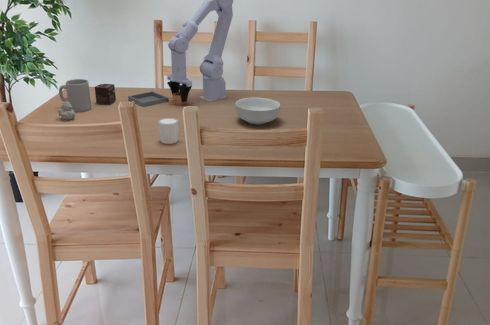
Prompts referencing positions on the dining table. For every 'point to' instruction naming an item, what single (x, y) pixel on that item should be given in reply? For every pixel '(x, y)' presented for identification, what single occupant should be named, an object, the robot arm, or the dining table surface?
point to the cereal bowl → (257, 110)
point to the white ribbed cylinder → (168, 130)
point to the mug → (77, 94)
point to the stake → (182, 104)
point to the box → (105, 94)
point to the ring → (176, 100)
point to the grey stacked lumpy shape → (66, 111)
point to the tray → (148, 99)
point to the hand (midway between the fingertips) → (180, 100)
